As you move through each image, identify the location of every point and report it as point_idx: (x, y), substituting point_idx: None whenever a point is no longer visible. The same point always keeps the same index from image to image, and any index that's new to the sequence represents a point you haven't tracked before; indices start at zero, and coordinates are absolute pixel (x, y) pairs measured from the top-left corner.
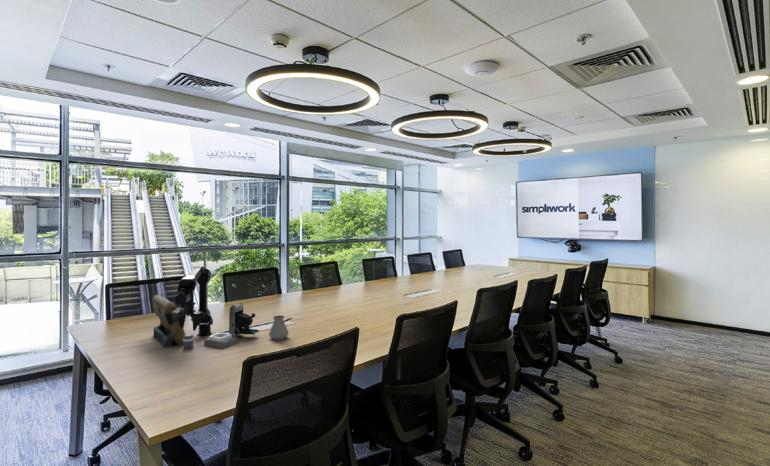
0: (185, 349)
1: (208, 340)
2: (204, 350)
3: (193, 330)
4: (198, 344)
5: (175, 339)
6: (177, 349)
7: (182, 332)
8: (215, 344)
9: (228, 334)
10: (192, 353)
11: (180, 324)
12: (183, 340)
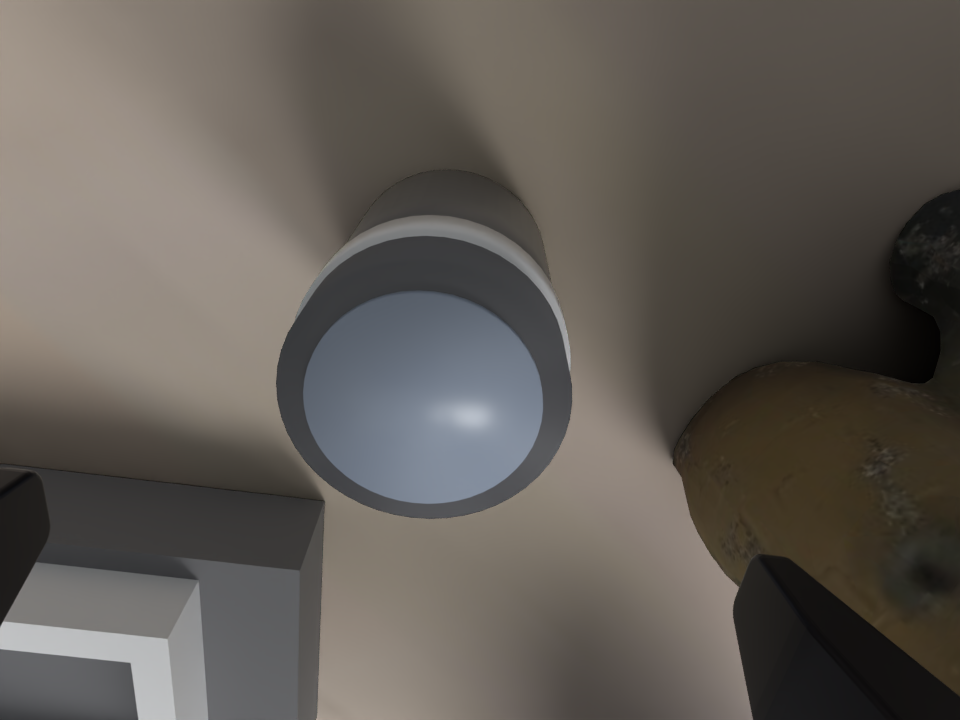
0: (429, 174)
1: (177, 555)
2: (46, 262)
3: (10, 470)
4: None
5: (885, 384)
6: (630, 152)
7: None
8: None
9: None
10: (89, 14)
11: (888, 707)
12: (477, 229)
